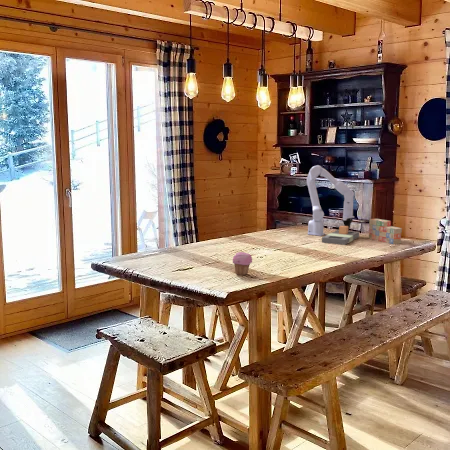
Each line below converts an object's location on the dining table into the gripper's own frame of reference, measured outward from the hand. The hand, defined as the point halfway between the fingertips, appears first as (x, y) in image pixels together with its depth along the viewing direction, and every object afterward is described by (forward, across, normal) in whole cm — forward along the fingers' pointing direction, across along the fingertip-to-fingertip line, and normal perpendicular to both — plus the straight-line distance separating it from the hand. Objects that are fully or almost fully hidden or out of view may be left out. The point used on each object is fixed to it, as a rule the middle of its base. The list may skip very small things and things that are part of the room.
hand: (347, 230), depth 339 cm
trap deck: (+4, -12, 0) cm, 13 cm away
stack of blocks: (+4, -1, -24) cm, 24 cm away
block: (+1, -8, 0) cm, 8 cm away
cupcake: (+4, -122, +13) cm, 122 cm away
